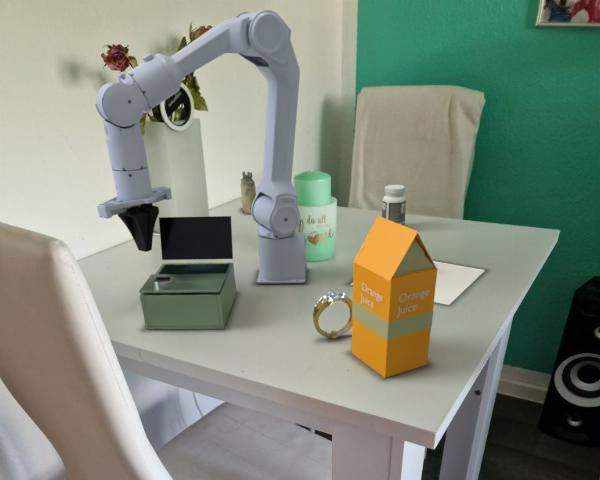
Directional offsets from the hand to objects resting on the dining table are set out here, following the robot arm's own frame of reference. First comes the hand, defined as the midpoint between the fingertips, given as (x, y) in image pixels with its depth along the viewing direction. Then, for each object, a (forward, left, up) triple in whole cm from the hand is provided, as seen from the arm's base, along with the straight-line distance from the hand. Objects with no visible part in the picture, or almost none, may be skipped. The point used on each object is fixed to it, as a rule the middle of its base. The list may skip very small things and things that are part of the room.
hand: (145, 250), depth 98 cm
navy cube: (-8, 0, -9) cm, 12 cm away
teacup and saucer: (-50, -11, -10) cm, 52 cm away
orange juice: (-41, +22, -10) cm, 48 cm away
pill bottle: (-48, -44, -10) cm, 66 cm away
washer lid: (-8, -5, 0) cm, 10 cm away
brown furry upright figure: (-10, -63, -10) cm, 65 cm away
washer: (-8, +4, -10) cm, 13 cm away
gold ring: (-33, +15, -10) cm, 38 cm away
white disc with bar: (-8, +9, -3) cm, 13 cm away
